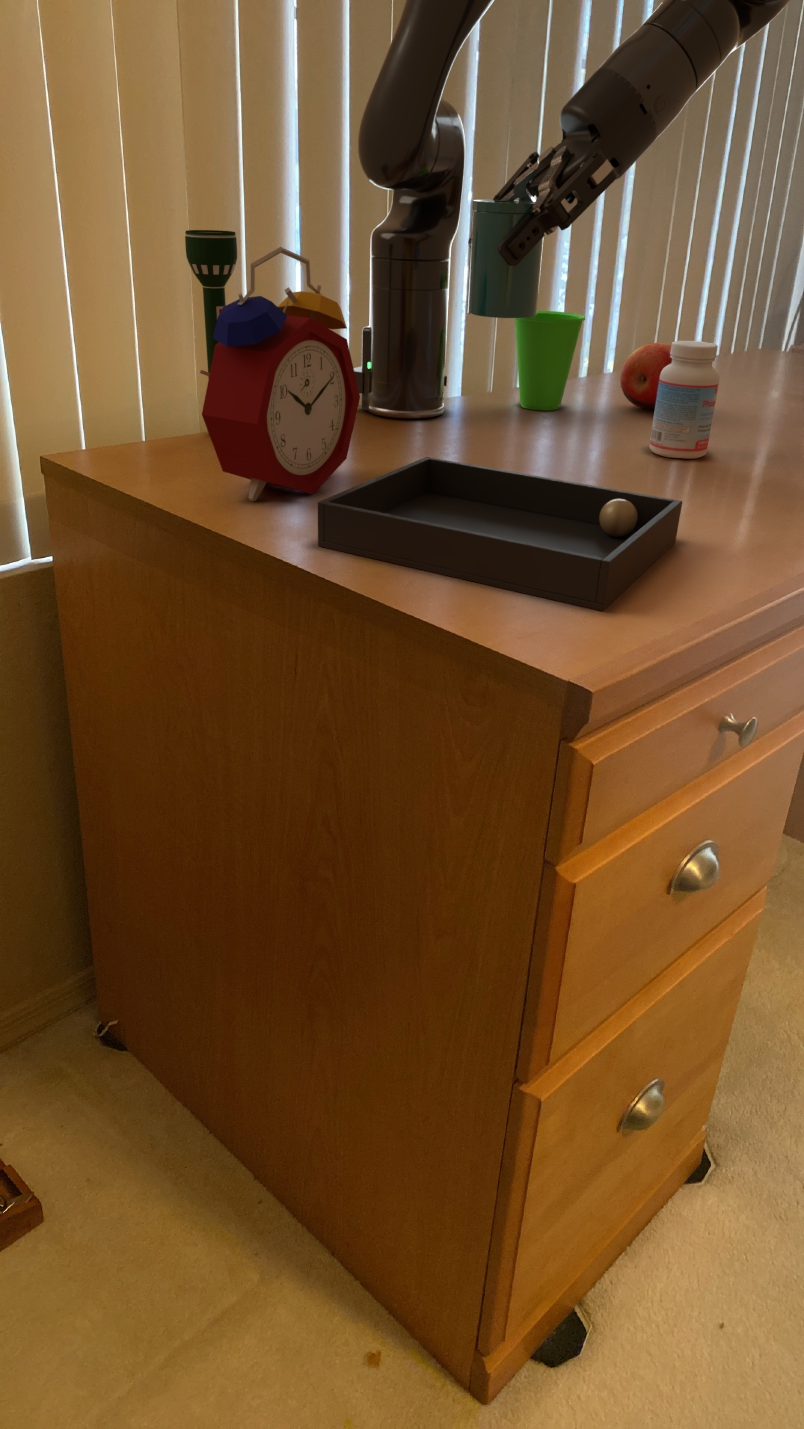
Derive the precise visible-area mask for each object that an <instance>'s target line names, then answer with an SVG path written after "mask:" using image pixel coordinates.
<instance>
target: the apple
mask: <svg viewBox="0 0 804 1429" xmlns="http://www.w3.org/2000/svg"><path fill="white" fill-rule="evenodd" d="M671 346H672V344H670V343H665V342H651V343H647V344H644V345H642V346H639V347H638V348H637V349H635V350H633V352H632V353H631V354H629V356H628V357H627V358H626V359H625V361H624V364H623V366H622V369H621V373H620V378H619V380H620V389H621V391H622V393H623V395H624V397H625V398H626V400H627V401H628V402H630V404H632V405H634V406H635V407H638V408H641V409H647V410H649V409H655V405H656V398H657V392H658V386H659V379H660V374H661V371H662V370H663V368H664V367H666V366H667V365H669V364H671V363H672V358H671V357H670V356H671V354H670V352H671Z"/></svg>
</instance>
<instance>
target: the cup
mask: <svg viewBox="0 0 804 1429" xmlns="http://www.w3.org/2000/svg"><path fill="white" fill-rule="evenodd" d="M585 320H586V317H585V316H584V315H583V314H579V313H573V312H566V311H555V310H537V314H536V316H533V317H528V318H514V328H515V344H516V345H515V346H516V361H517V362H516V363H517V378H518V379H517V380H518V393H519V394H518V395H519V396H518V397H519V403H520V406H521V407H522V408H524V409H528V410H532V411H533V410H534V411H556V410H558V409H559V407H560V405H561V404H562V401H563V397H564V394H565V389H566V385H567V382H568V378H569V374H570V370H571V366H572V364H573V363H572V362H573V358H574V354H575V351H576V346H577V343H578V339H579V336H580V331H581V327H582V325H583V324H582V323H583V321H585Z"/></svg>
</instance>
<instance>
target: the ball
mask: <svg viewBox="0 0 804 1429" xmlns="http://www.w3.org/2000/svg"><path fill="white" fill-rule="evenodd" d="M637 519H638V514H637V510H636V508H635V507H634V505H633V504H632V503H631V502H629V501H627V500H625V499H613V500H611V501H609V502H607V503H606V504H605V505H604V506H603V508H602V509H601V512H600V515H599V522H600V525H601V528H602V529H603V530H604V532H606V533H607V534H608V535H610V536H614V537H621V536H625V535H627V534H629V533H630V532H631V531H632V530H633V529H634V528H635V526H636V524H637Z"/></svg>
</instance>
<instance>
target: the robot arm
mask: <svg viewBox="0 0 804 1429" xmlns="http://www.w3.org/2000/svg"><path fill="white" fill-rule="evenodd" d="M495 1H496V0H405V1H404V5H403V9H402V12H401V14H400V18H399V21H398V23H397V25H396V28H395V32H394V35H393V37H392V40H391V42H390V45H389V47H388V50H387V52H386V54H385V58H384V60H383V63H382V65H381V67H380V69H379V72H378V74H377V77H376V79H375V82H374V84H373V87H372V89H371V91H370V94H369V95H368V96H369V97H368V99H367V102H366V104H365V107H364V110H363V113H362V117H361V120H360V124H359V129H358V136H357V154H358V160H359V164H360V167H361V169H362V171H363V174H364V175H365V177H366V178H367V179H368V181H369V182H370V183H372V184H373V185H374V186H376V187H378V188H379V189H380V188H381V189H383V190H391V191H392V198H391V205H390V208H389V212H388V213H387V215H386V216H385V218H384V220H382V221H381V223H379V224H378V225H377V226H376V227H375V228H373V230H372V232H371V234H370V248H369V250H370V251H369V252H370V253H369V256H370V257H369V259H370V260H369V268H370V269H369V321H368V322H369V323H368V324H369V325H368V326H364V327H363V328H362V331H361V366H357V367H353V368H354V373H355V377H356V381H357V386H358V390H359V394H361V399H360V400H361V403H360V404H361V405H360V406H361V411H365V412H369V413H371V414H373V415H376V416H381V417H385V418H392V419H410V420H411V419H426V418H427V419H428V418H435V417H437V416H440V415H442V414H443V413H445V412H444V410H445V404H444V399H445V387H447V386H448V385H447V383H448V376H447V375H445V374H446V357H447V354H446V353H447V335H448V319H449V318H448V317H449V315H448V314H449V296H450V276H451V275H450V273H451V257H452V256H451V255H452V254H451V253H452V244H453V242H454V239H455V237H456V235H457V232H458V229H459V224H460V219H461V208H462V199H463V198H462V197H463V189H464V176H465V168H466V167H465V166H466V137H465V130H464V125H463V121H462V119H461V116H460V114H459V113H458V111H457V109H456V108H455V107H454V106H453V104H451V103H450V101H448V100H446V99H444V98H442V96H443V92H444V89H445V86H446V83H447V80H448V78H449V75H450V72H451V69H452V67H453V64H454V62H455V60H456V58H457V56H458V54H459V53H460V50H461V49H462V47H463V45H464V44H465V42H466V40H467V39H468V38H469V36H470V34H471V33H472V32H473V30H474V29H475V27H476V26H477V25H478V24H479V23H480V21H481V19H482V18H483V17H484V16H485V14H486V13H487V11H488V10H489V9H490V8H491V6H492V5H493V4H494V2H495ZM790 1H791V0H663V1H662V2H661V3H660V4H659V5H658V6H657V8H656V9H655V10H654V11H653V12H652V13H651V14H650V15H649V16H648V17H647V19H645V21H644V22H643V23H642V24H641V25H640V26H639V27H638V28H637V29H636V30H635V31H634V32H633V33H632V34H631V35H629V36H628V37H627V38H626V39H625V40H624V41H622V42H621V43H620V44H619V45H618V46H617V47H616V48H615V49H614V50H613V51H612V53H610V55H609V56H608V57H607V58H606V59H605V60H604V61H603V62H602V63H601V65H599V67H598V68H597V69H596V70H595V71H594V72H593V74H591V76H590V77H589V78H588V79H587V80H586V81H585V83H583V85H582V86H581V87H579V89H578V90H577V92H576V93H574V94H573V96H572V97H571V98H570V99H569V100H568V101H567V102H566V103H565V105H564V106H563V107H562V109H561V110H560V113H559V125H560V128H561V131H562V140H561V142H560V143H557V144H556V145H555V146H550V147H548V148H546V149H545V150H544V151H543V152H542V153H541V154H540V153H539V152H538V151H534V152H531V153H530V154H529V156H528V157H527V158H526V159H525V161H524V162H523V163H522V164H521V165H520V167H518V169H517V170H516V171H515V173H514V174H512V176H511V177H510V178H509V179H508V181H506V183H505V184H504V185H503V186H502V187H501V189H500V190H499V191H498V192H497V193H496V194H495V195H494V196H493V198H492V200H508V201H516V200H517V199H518V201H531V202H535V203H534V205H533V206H532V208H531V210H530V212H531V213H532V216H531V215H530V214H526V215H525V216H524V217H523V218H522V219H521V220H520V221H519V222H518V223H517V225H516V226H515V227H514V228H513V229H512V230H511V231H510V232H509V233H508V234H507V236H506V237H505V238H504V239H503V240H502V241H501V242H500V243H499V245H498V248H497V249H498V252H499V253H500V255H501V256H502V257H503V259H504V260H505V261H506V263H507V264H508V265H511V266H516V265H518V264H519V263H520V261H521V260H522V259H523V258H524V257H525V256H526V255H527V254H528V253H529V252H530V251H531V250H532V248H533V247H534V246H535V245H536V244H537V243H538V242H539V241H540V240H541V239H542V238H543V239H544V237H545V235H547V236H549V235H551V234H553V233H555V231H556V230H557V229H558V228H559V229H560V231H565V230H567V229H568V228H570V226H572V224H573V223H574V222H575V221H576V220H577V219H578V218H579V217H580V216H581V215H582V214H583V213H584V212H585V211H586V210H587V209H588V208H589V207H590V206H591V205H592V204H593V203H594V202H595V201H596V200H597V199H598V198H599V197H601V195H602V194H603V193H604V192H605V191H606V190H607V189H608V188H609V187H610V186H611V185H612V184H614V182H615V181H617V180H619V179H621V178H622V177H623V176H624V175H625V174H626V173H627V172H628V170H629V169H630V168H632V166H633V165H634V164H635V163H636V162H637V161H638V160H639V158H640V157H641V156H642V155H643V154H645V152H646V151H647V150H648V149H649V148H650V146H652V144H653V143H655V141H657V139H658V138H659V137H660V136H661V135H662V134H663V133H664V131H666V130H667V129H668V128H669V126H670V125H671V124H672V122H674V121H675V119H677V117H678V116H679V114H680V113H681V112H682V111H683V109H684V108H685V106H686V105H687V103H688V102H689V101H690V99H691V98H692V97H693V96H694V95H695V94H696V92H698V91H699V89H700V88H701V87H702V86H703V85H704V84H705V83H706V82H707V81H708V80H709V79H710V78H711V76H713V75H714V73H715V72H716V71H717V70H718V69H719V67H721V65H722V64H723V63H725V60H726V59H727V58H728V57H729V56H730V54H731V53H733V52H734V51H735V50H737V49H739V48H740V47H741V46H743V45H744V44H745V43H747V42H748V41H749V40H750V39H752V38H753V37H755V35H756V34H758V33H759V32H760V31H761V30H763V29H764V28H765V27H767V25H769V24H770V23H771V22H772V21H773V20H774V19H775V18H776V17H777V16H778V15H779V14H780V13H781V12H782V11H783V9H784V8H785V7H786V6H787V5H788V3H790ZM535 197H536V199H535ZM467 244H468V247H469V248H470V249H471V236H470V237H469V239H468V241H467Z"/></svg>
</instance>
